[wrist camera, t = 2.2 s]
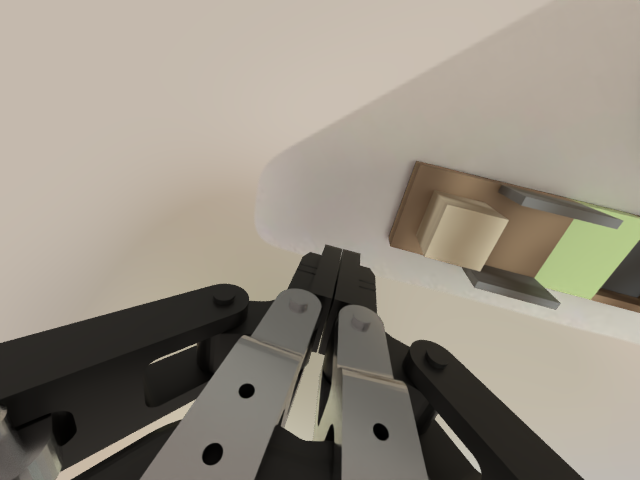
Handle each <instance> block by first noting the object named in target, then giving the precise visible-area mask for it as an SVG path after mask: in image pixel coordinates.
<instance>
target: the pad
mask: <svg viewBox="0 0 640 480" xmlns="http://www.w3.org/2000/svg"><path fill="white" fill-rule="evenodd" d="M568 199H569V198H568ZM570 200H573V199H570ZM573 201H575V202H578V203H580V204H583V205H585V206H588V207H590V208H593V209H595V210H598V211H600V212H603V213H605V214H608V215H610V216H613V217H615V218H618V219H620V220H623V222H622V224H621V225H620V226H619V228H618V229H613V228H609V227H605V226H601V225H597V224H593V223H589V222H585V221H581V220H577V219H574V220H573V221H572V223H571V224H570V226H569V227H568V229H567V230H566V232H565V233H564V235H563V236H562V238H561V239H560V241H559V242H558V244H557V245H556V246H555V248H554V249H553V251H552V252H551V254H550V255H549V257H548V258H547V260H546V261H545V263H544V264H543V266H542V267H541V269H540V270H539V272H538V273H537V275H536V276H535V279H536V280H537V281H538V282H539V283H540V284H541V285H542V286H543V287H544V288H548V289H552V290H556V291H559V292H563V293H567V294H571V295H574V296H578V297H582V298H586V299H589V300H591V299H592V297H593V296H594V295H595V294H596V293H597V291H598V290H599V289H600V288H601V286H602V285H603V284H604V283H605V282H606V280H607V279H608V278H609V277H610V275H611V274H612V273H613V272H614V271H615V269H616V268H617V267H618V266H619V264H620V263H621V262H622V261H623V260H624V258H625V257H626V256H627V255H628V253H629V252H630V251H631V250H632V249H633V247H634V246H635V245H636V244H637V242H638V241H639V240H640V217H638V216H635V215H633V214H630V213H626V212H622V211H617V210H613V209H609V208H605V207H601V206H597V205H593V204H589V203H585V202H581V201H577V200H573Z"/></svg>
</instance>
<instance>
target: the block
mask: <svg viewBox="0 0 640 480" xmlns="http://www.w3.org/2000/svg"><path fill="white" fill-rule="evenodd" d="M508 221H509V220H508V219H507V218H505V217H504V216H502V215H501V214H500V213H498V212H497V211H496V210H494V209H493V208H491V207H490V206H489V205H487V204H486V203H483V202H479V201H475V200H471V199H467V198H463V197H459V196H455V195H451V194H448V193H444V192H440V191H436V190H434V192H433V195H432V197H431V199H430V202H429V204H428V207H427V209H426V212H425V214H424V217H423V219H422V221H421V224H420V226H419V229H418V231H417V234H416V237H417V239H418V242H419V244H420V247H421V249H422V252H423V254H424V257H427V258H431V259H435V260H439V261H442V262H446V263H450V264H454V265H457V266H461V267H465V268H469V269H472V270H476V271H481V269H482V268H483V266H484V264H485V262H486V260H487V259H488V257H489V255H490V253H491V251H492V250H493V248H494V246H495V244H496V243H497V241H498V239H499V237H500V235H501V234H502V232H503V230H504V228H505V227H506V225H507V223H508Z"/></svg>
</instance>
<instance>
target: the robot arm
mask: <svg viewBox="0 0 640 480" xmlns="http://www.w3.org/2000/svg"><path fill="white" fill-rule="evenodd" d="M341 252H342V249H340V248H337V247H333V246H329V245H325V248H324V251H323V253H322V255H319V254H315V253H312V252H310V253H308V254H307V255H305V256H303V257H302V260H301V262H300V264H299V266H298V268H297V270H296V273H295V274H294V276H293V279H292V281H291V283H290V285H289V287H288V289H287V290H284V291H282V292H281V293H280V294H279V295H278V296H277V298H276V299H275V300H272V301H266V302H265V301H262V302H261V301H249V296H248V294H247V292H246V291H245V290H244V289H242V288H241V287H238V286H236V285H231V284H217V285H213V286H209V287H205V288H201V289H198V290H194V291H190V292H187V293H183V294H179V295H176V296H172V297H169V298H165V299H161V300H158V301H154V302H150V303H146V304H143V305H139V306H135V307H132V308H128V309H124V310H120V311H117V312H113V313H109V314H106V315H102V316H98V317H95V318H91V319H87V320H84V321H80V322H77V323H73V324H69V325H65V326H62V327H58V328H54V329H51V330H47V331H43V332H40V333H36V334H32V335H28V336H25V337H21V338H17V339H14V340H10V341H7V342H3V343H0V480H55V479H56V478H57V476H58V474H59V472H60V471H63V470H65V469H66V468H68V467H70V466H72V465H74V464H76V463H78V462H80V461H81V460H83V459H85V458H87V457H89V456H91V455H93V454H95V453H96V452H98V451H100V450H102V449H104V448H106V447H108V446H109V445H111V444H113V443H115V442H117V441H119V440H121V439H123V438H124V437H126V436H128V435H130V434H132V433H134V432H136V431H137V430H139V429H141V428H143V427H145V426H147V425H149V424H150V423H152V422H154V421H156V420H158V419H160V418H162V417H163V416H165V415H167V414H169V413H171V412H173V411H175V410H177V409H178V408H180V407H182V406H184V405H186V404H188V403H189V402H191V401H193V400H195V399H196V401H195V402H194V403H193V405H192V406H191V408H190V409H189V410H188V412H187V413H186V415H185V416H184V418H183V419H182V420H179V421H176V422H173V423H170V424H167V425H165V426H163V427H161V428H159V429H157V430H155V431H153V432H151V433H149V434H147V435H146V436H144V437H142V438H141V439H139V440H137V441H136V442H134V443H132V444H131V445H129V446H127V447H125V448H124V449H122V450H120V451H119V452H117V453H115V454H114V455H112V456H110V457H108V458H107V459H105V460H103V461H102V462H100V463H98V464H97V465H95V466H93V467H92V468H90V469H88V470H86V471H85V472H83V473H81V474H80V475H78V476H76V477H75V478H73V479H71V480H584V479H583V478H582V477H581V476H580V475H579V474H578V473H577V472H576V471H575V470H574V469H572V468H571V467H570V466H569V465H568V464H567V463H566V462H565V461H564V460H563V459H562V458H561V457H560V456H559V455H558V454H557V453H555V452H554V451H553V450H552V449H551V448H550V447H549V446H548V445H547V444H546V443H545V442H544V441H543V440H542V439H541V438H540V437H539V436H538V435H537V434H535V433H534V432H533V431H532V430H531V429H530V428H529V427H528V426H527V425H526V424H525V423H524V422H523V421H522V420H521V419H520V418H519V417H517V415H515V414H514V413H513V412H512V411H511V410H510V409H509V408H508V407H507V406H506V405H505V404H504V403H503V402H502V401H501V400H499V398H497V397H496V396H495V395H494V394H493V393H492V392H491V391H490V390H489V389H488V388H487V387H486V386H485V385H484V384H483V383H482V382H481V381H480V380H479V379H477V378H476V377H475V376H474V375H473V374H472V373H471V372H470V371H469V370H468V369H467V368H466V367H465V366H464V365H463V364H461V362H459V361H458V360H457V359H456V358H455V357H454V356H453V355H452V354H451V353H450V352H448V350H446V349H445V348H443V347H442V346H440V345H438V344H436V343H434V342H431V341H427V340H418V341H415V342H413V343H412V345H411V346H410V347H409V346H407V345H405V344H403V343H401V342H400V341H398V340H396V339H394V338H392V337H391V336H390V335H389V334H387V333H386V332H385V329H384V324H383V322H382V320H381V318H380V317H379V316H378V315H377V307H376V292H375V291H376V286H375V275H374V274H373V272H372V271H371V269H370V268H367V267H363V266H360V254H359V253H356V252H352V251H348V250H344V249H343V252H342V255H341ZM340 257H341V259H340ZM323 328H324V329H323ZM322 332H323V334H322ZM321 335H322V338H321ZM320 339H321V343H320V348H319V353H320V354H323V355H325V358H324V362H323V366H322V369H321V373H320V376H319V386H318V396H317V405H316V415H315V426H314V434H313V440H312V441H305V440H302V439H299V438H298V437H296V436H295V435H294V434H292V433H290V432H289V431H287V430H286V429H284V427H285V424H286V421H287V418H288V415H289V412H290V409H291V407H292V404H293V401H294V398H295V395H296V392H297V390H298V387H299V384H300V381H301V378H302V375H303V372H304V369H305V366H306V365H307V364H308V362H309V359H310V355H311V352H317V349H318V346H319V342H320ZM195 343H197V346H194V347H191V348H189V349H187V350H184V351H182V352H179V353H177V354H174V355H172V356H170V357H167V358H164V359H162V360H159V361H157V362H155V363H152V362H153V361H155V360H156V359H158V358H160V357H163V356H165V355H168V354H170V353H173V352H176V351H178V350H181V349H183V348H185V347H188V346H190V345H193V344H195ZM150 363H152V364H150ZM149 364H150V365H149ZM437 414H439V415H440V416H441V417H442V418H443V419H444V421H445V422H446V423H447V424H448V426H449V427H450V428H451V429H452V430H453V432H454V433H455V434H456V435H457V436H458V438H459V439H460V440H461V441H462V442H463V444H464V445H465V446H466V447H467V448H468V450H469V451H470V452H471V453H472V454H473V456H474V457H475V458H476V460H477V462H478V464H479V466H480V469H481V473H482V474H481V473H479V472H478V471H477V470H476V469H474V467H473V466H472V465H471V463H470V462H469V461H468V460H467V459H466V457H465V456H464V455H463V454H462V452H461V451H460V450H459V449H458V447H457V446H456V445H455V444H454V443H453V441H452V440H451V439H450V438H449V436H448V435H447V434H446V433H445V431H444V430H443V429H442V428H441V426H440V425H439V424H438V423H437V422H436V421H435V417H436V416H437Z"/></svg>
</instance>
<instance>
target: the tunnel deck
mask: <svg viewBox="0 0 640 480" xmlns="http://www.w3.org/2000/svg"><path fill="white" fill-rule="evenodd" d="M434 190H436V191H440V192H444V193H448V194H451V195H455V196H459V197H463V198H467V199H471V200H475V201H479V202H483V203H486V204H487V205H489V206H490V207H491V208H493V209H494V210H496V211H497V212H498V213H500V214H501V215H502V216H504V217H505V218H507V219H508V220H509V221H508V223H507V225H506V227H505V228H504V230H503V232H502V234H501V235H500V237H499V239H498V241H497V243H496V244H495V246H494V248H493V250H492V251H491V253H490V255H489V257H488V259H487V260H486V262H485V264H484V266H483V268H482V269H481V271H476V270H472V269H469V268H465V267H462V268H463V270H464V272H465V273H466V275H467V276H468V278H469V280H470V281H471V283H472V284H473V286H474V288H478V289H481V290H485V291H489V292H492V293H496V294H500V295H503V296H507V297H511V298H514V299H518V300H522V301H526V302H529V303H533V304H537V305H540V306H544V307H548V308H551V309H555V310H556V309H557V308H558V306H559V305H560V304H561V303H560V302H559V301H558V300H557V299H556V298H555V297H554V296H553V295H551V294H550V293H549V292H548V291H547V290H546V289H545V288H544V287H543V286H542V285H541V284H540V283H539V282H538V281H537V280H536V279H535V276H536V275H537V273H538V272H539V270H540V269H541V267H542V266H543V264H544V263H545V261H546V260H547V258H548V257H549V255H550V254H551V252H552V251H553V249H554V248H555V246H556V245H557V244H558V242H559V241H560V239H561V238H562V236H563V235H564V233H565V232H566V230H567V229H568V227H569V226H570V224H571V223H572V221H573V220H574V219H577V220H581V221H585V222H589V223H593V224H597V225H601V226H605V227H609V228H613V229H618V228H619V226H620V225H621V224H622V222H623V220H620V219H618V218H615V217H613V216H610V215H608V214H605V213H603V212H600V211H598V210H595V209H593V208H590V207H588V206H585V205H583V204H580V203H578V202H575V201H573V200H570V199H568V198H565V197H561V196H557V195H553V194H549V193H545V192H540V191H536V190H532V189H528V188H524V187H520V186H516V185H512V184H508V183H504V182H500V181H496V180H492V179H488V178H484V177H480V176H476V175H471V174H467V173H463V172H459V171H455V170H451V169H447V168H443V167H439V166H435V165H431V164H427V163H423V162H419V161H416V163H415V166H414V169H413V172H412V175H411V177H410V180H409V183H408V186H407V188H406V191H405V194H404V197H403V199H402V202H401V205H400V208H399V210H398V213H397V216H396V219H395V221H394V224H393V227H392V230H391V233H390V235H389V242H390V246H391V247H395V248H399V249H402V250H406V251H410V252H414V253H417V254H421V255H424V254H423V252H422V249H421V247H420V244H419V242H418V239H417V237H416V234H417V231H418V229H419V226H420V224H421V221H422V219H423V217H424V214H425V212H426V209H427V207H428V204H429V202H430V199H431V197H432V195H433V192H434ZM633 215H634V214H633ZM635 216H638V215H635ZM638 217H640V216H638ZM591 300H593V301H597V302H601V303H604V304H608V305H612V306H616V307H619V308H623V309H627V310H631V311H634V312H638V313H640V240H639V241H638V242H637V244H636V245H635V246H634V247H633V249H632V250H631V251H630V252H629V253H628V255H627V256H626V257H625V258H624V260H623V261H622V262H621V263H620V264H619V266H618V267H617V268H616V269H615V271H614V272H613V273H612V274H611V275H610V277H609V278H608V279H607V280H606V282H605V283H604V284H603V285H602V286H601V288H600V289H599V290H598V291H597V293H596V294H595V295H594V296H593V297H592V299H591Z"/></svg>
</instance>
